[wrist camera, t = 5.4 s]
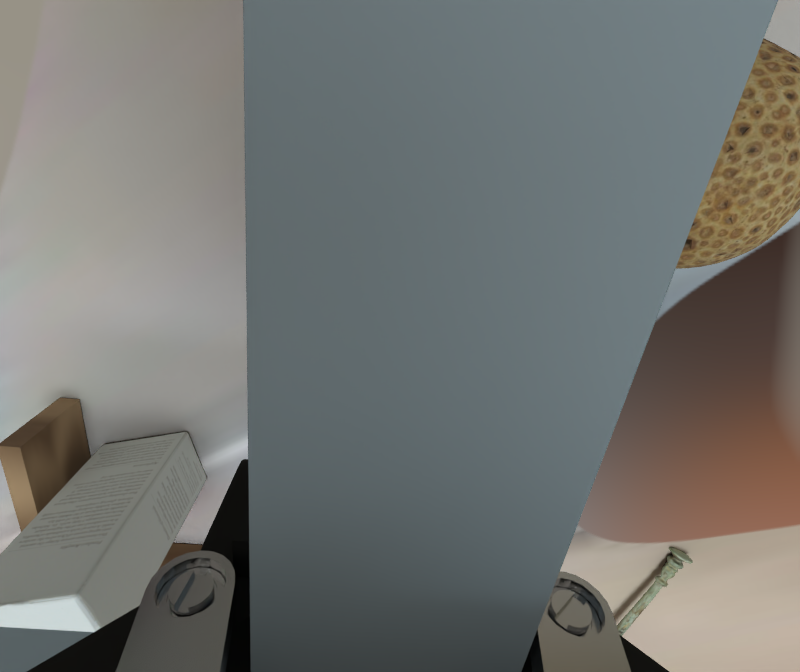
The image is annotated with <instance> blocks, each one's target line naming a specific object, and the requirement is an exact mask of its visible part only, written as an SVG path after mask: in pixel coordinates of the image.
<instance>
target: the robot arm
mask: <svg viewBox="0 0 800 672" xmlns="http://www.w3.org/2000/svg"><path fill="white" fill-rule="evenodd" d="M27 672H251V654H250V563H249V473H248V460H247V459H244V460H242V461H241V463H240V465H239V466H238V469H237V471H236V473H235V475H234V477H233V480H232V482H231V484H230V486H229V488H228V491H227V493H226V495H225V497H224V499H223V502H222V504H221V506H220V508H219V510H218V513H217V515H216V517H215V519H214V521H213V524H212V526H211V528H210V530H209V532H208V535H207V537H206V539H205V541H204V543H203V546H202V548H201V550H200V551H195V552H190V553H186V554H183V555H181V556H179V557H176V558H174V559H172V560H171V561H170V562H168V563H167V564H165V565H164V566H162V567H161V568H160V569H159V570H158V571H157V572H156V574H155V575H154V576H153V577H152V578H151V580H150V582H149V584H148V586H147V587H146V589H145V592H144V595H143V598H142V600H141V603H140V605H139V606H138V607H136V608H134V609H133V610H131V611H129V612H127V613H126V614H124V615H122V616H121V617H119V618H117V619H115V620H114V621H112V622H110V623H109V624H107V625H105V626H104V627H102V628H100V629H98V630H97V631H95V632H93V633H92V634H90V635H88V636H86V637H85V638H83V639H81V640H80V641H78V642H76V643H75V644H73V645H71V646H69V647H68V648H66V649H64V650H63V651H61V652H59V653H57V654H56V655H54V656H52V657H51V658H49V659H47V660H45V661H44V662H42V663H40V664H39V665H37V666H35V667H34V668H32V669H30V670H28V671H27ZM521 672H669V671H668V670H666V669H665V668H663V667H662V666H661V665H659V664H658V663H657V662H655V661H654V660H653V659H651V658H650V657H649V656H647V655H646V654H645V653H643V652H642V651H641V650H639V649H638V648H636V647H635V646H634V645H632V644H631V643H630V642H628V641H627V640H626V639H624V638H623V637H622V636H620V635H619V632H618V629H617V626H616V622H615V619H614V616H613V613H612V611H611V609H610V607H609V605H608V603H607V601H606V600H605V599H604V597H603V596H602V595H601V594H600V592H599V591H598V590H597V589H596V588H594V587H593V586H592V585H591V584H590V583H588V582H587V581H585V580H583V579H582V578H580V577H578V576H576V575H573V574H570V573H567V572H559V574H558V577H557V579H556V582H555V585H554V587H553V590H552V593H551V595H550V598H549V600H548V603H547V606H546V608H545V611H544V613H543V616H542V619H541V621H540V624H539V627H538V629H537V632H536V634H535V637H534V640H533V642H532V645H531V647H530V650H529V653H528V655H527V658H526V661H525V663H524V666H523V668H522V671H521Z"/></svg>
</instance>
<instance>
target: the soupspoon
mask: <svg viewBox="0 0 800 672" xmlns="http://www.w3.org/2000/svg"><path fill="white" fill-rule="evenodd" d="M669 549H670V551H671V552H672V556H671V555H669V556H668V557H667V561H668V562H667V563H665V564H666V566H663V568H662V571H661V576H656V577H655V579H656V581H655V582H654V584H653V585H652V586H651V587H650V588H649V589H648V591H647V592H646V593H645V594H644V595H643V596H642V598H641V599H640V600H639V601H638V602H637V603H636V604H635V606H634V607H633V608H632V609H631V610H630V611H629V612H628V614H627V615H626V616H625V617H624V618H623V619H622V620H621V621H620V623H619V624H618V625H617V629H618V632H619V635H620V636H622V635H623V634H624V633H625V632H626V630H627V629H628V628H629V627H630V626H631V624H632V623H633V622H634V621H635V620H636V618H637V617H638V616H639V615H640V614H641V612H642V611H643V610H644V609H645V608H646V607H647V605H648V604H649V603H650V602H651V600H652V599H653V598H654V597H655V596H656V594H657V593H658V592H659V590H660V589H661V588H662V587H663V586H664V587H667V585H668V584H667V580H668V579H670V578H672V577H674V575H675V573H676V572H678V569H681V568H683V564H682V561H683V562H686V563H692V560H691V559H690V558H689V556H688V555H686V554H685V553H684V552H682V551H679V550H677V549H675V548H672V547H670V548H669Z"/></svg>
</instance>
